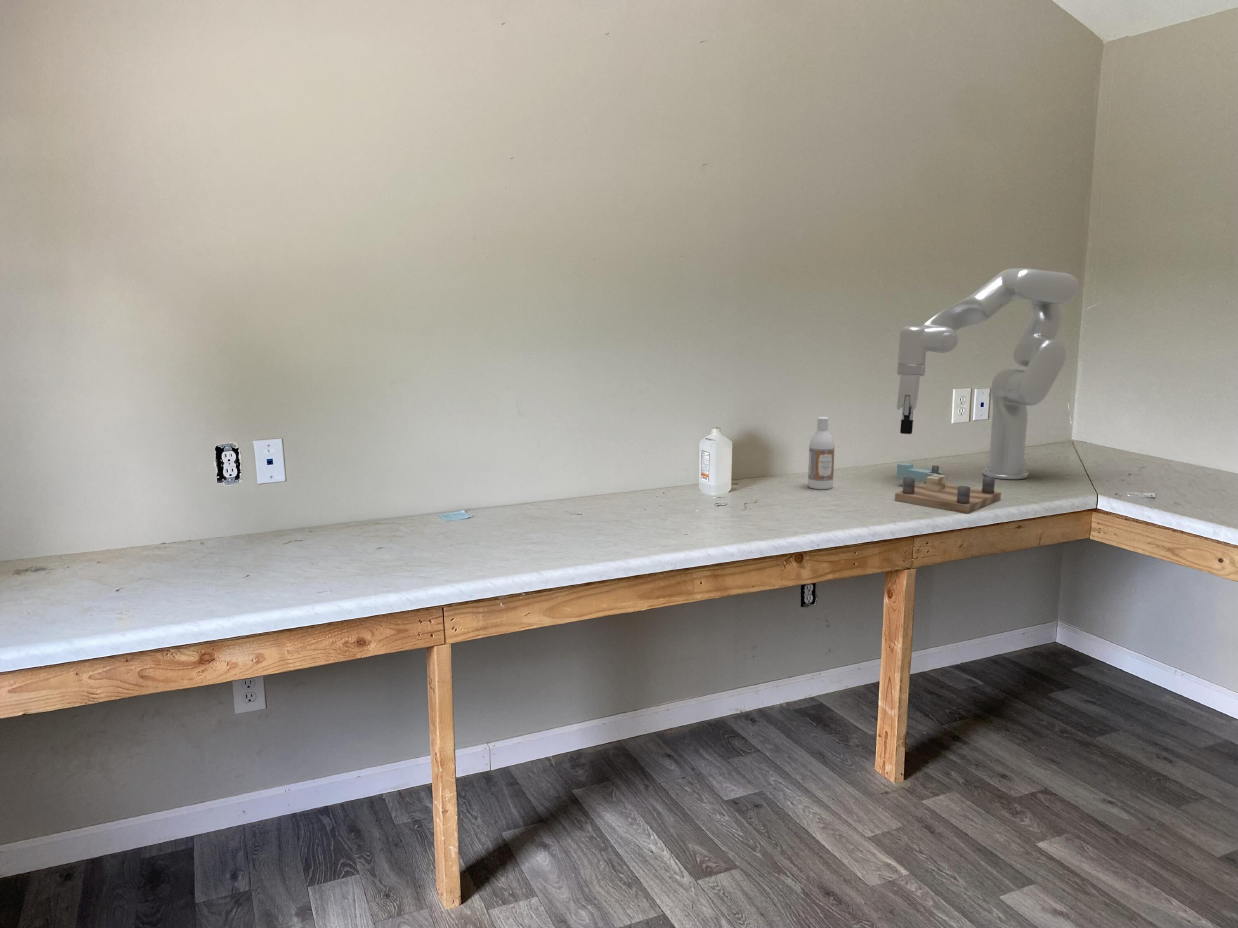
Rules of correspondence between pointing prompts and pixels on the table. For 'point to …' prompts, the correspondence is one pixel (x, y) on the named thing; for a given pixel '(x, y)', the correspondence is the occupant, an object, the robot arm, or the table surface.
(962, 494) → the stool seat
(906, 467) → the leg
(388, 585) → the table surface
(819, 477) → the bath foam
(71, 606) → the table surface
